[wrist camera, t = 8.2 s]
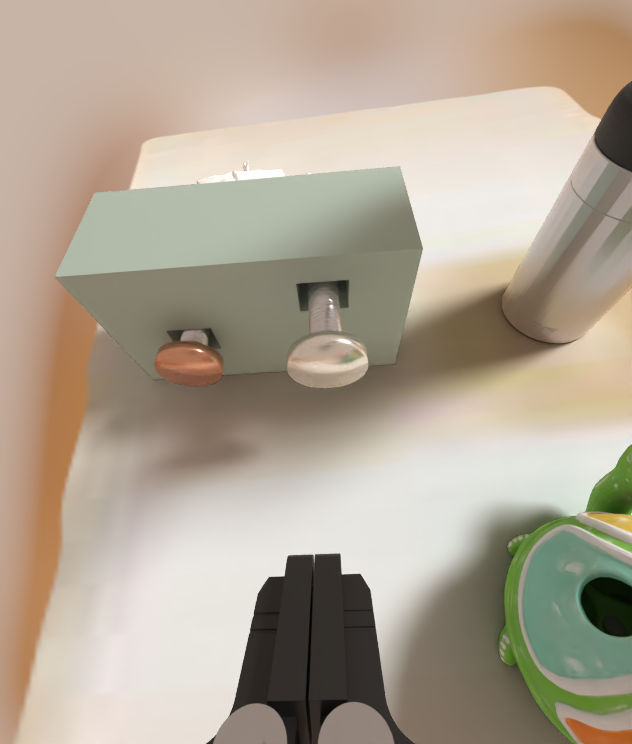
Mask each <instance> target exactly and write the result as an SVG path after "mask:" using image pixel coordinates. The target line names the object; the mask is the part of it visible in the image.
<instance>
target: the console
mask: <svg viewBox="0 0 632 744" xmlns="http://www.w3.org/2000/svg"><path fill="white" fill-rule="evenodd" d="M422 250H423V247H422V244H421V240H420V237H419V233H418V229H417V226H416V222H415V219H414V215H413V212H412V208H411V204H410V201H409V197H408V194H407V190H406V186H405V183H404V179H403V176H402V172H401V169H400V166H399V167H387V168H376V169H364V170H353V171H341V172H330V173H318V174H307V175H295V176H284V177H272V178H261V179H249V180H238V181H226V182H215V183H203V184H192V185H180V186H169V187H157V188H146V189H134V190H123V191H111V192H101V193H95V194H94V196H93V198H92V200H91V202H90V204H89V206H88V208H87V210H86V212H85V215H84V217H83V219H82V221H81V223H80V225H79V227H78V229H77V231H76V233H75V235H74V238H73V240H72V242H71V244H70V246H69V248H68V250H67V252H66V255H65V257H64V259H63V261H62V263H61V265H60V267H59V269H58V271H57V273H56V275H55V278H56V279H57V280H58V281H59V282H60V283H61V284H62V285H63V286H64V287H65V288H66V289H67V290H68V291H69V292H70V293H71V295H72V296H73V297H74V298H75V299H76V300H77V301H78V302H79V303H80V304H81V305H82V306H83V307H84V308H85V309H86V310H87V311H88V312H89V313H90V314H91V316H92V317H93V318H94V319H95V320H96V321H97V322H98V323H99V324H100V325H101V326H102V327H103V328H104V329H105V330H106V331H107V332H108V333H109V334H110V335H111V336H112V338H113V339H114V340H115V341H116V342H117V343H118V344H119V345H120V346H121V347H122V348H123V349H124V350H125V351H126V352H127V353H128V354H129V355H130V356H131V357H132V358H133V359H134V360H135V362H136V363H137V364H138V365H139V366H140V367H141V368H142V369H143V370H144V371H145V372H146V373H147V374H148V375H149V376H150V377H151V378H152V379H153V380H156V379H164V378H163V377H161V376H160V375H159V374H158V373H157V372H156V370H155V367H154V364H155V360H156V355H157V352H158V349H159V348H160V347H161V346H163V345H164V344H166V343H169V342H174V341H180V339H181V334H182V330H187V329H201V328H210V334H209V341H208V346H209V347H211V348H213V349H215V350H216V351H217V352H219V353H220V354H221V356H222V357H223V359H224V366H223V375H234V374H249V373H265V372H280V371H287V353H288V349H289V347H290V346H291V344H292V343H293V342H294V341H296V340H297V339H299V338H300V337H302V336H304V335H307V334H309V305H308V283H312V282H325V281H337V283H338V294H339V305H340V316H341V327H342V332H346V333H350V334H352V335H354V336H356V337H358V338H359V339H361V340H362V341H363V342H364V344H365V346H366V349H367V357H368V366H373V365H388V364H395V362H396V358H397V354H398V350H399V345H400V341H401V337H402V333H403V329H404V325H405V321H406V316H407V312H408V308H409V304H410V300H411V296H412V291H413V287H414V283H415V279H416V275H417V271H418V267H419V262H420V258H421V254H422Z"/></svg>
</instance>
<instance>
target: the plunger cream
mask: <svg viewBox="0 0 632 744" xmlns="http://www.w3.org/2000/svg"><path fill="white" fill-rule="evenodd" d="M308 305H309V334H307V335H304V336H302V337H300V338H299V339H297V340H296V341H294V342H293V343H292V344H291V346H290V347H289V349H288V353H287V371H288V374H289V376H290V377H291V378H292V379H293V380H295V381H296V382H298V383H300V384H302V385H305V386H309V387H314V388H335V387H340V386H344V385H348V384H350V383H353V382H355V381H357V380H358V379H360V378H361V377H362V376H364V375H365V373H366V372H367V370H368V357H367V349H366V346H365V344H364V342H363V341H362V340H361V339H359V338H358V337H356V336H354V335H352V334H350V333H346V332H342V327H341V316H340V305H339V294H338V283H337V281H325V282H312V283H308Z"/></svg>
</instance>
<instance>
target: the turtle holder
mask: <svg viewBox="0 0 632 744" xmlns="http://www.w3.org/2000/svg"><path fill="white" fill-rule="evenodd" d="M631 513H632V445H630V446H629V447H628V448H627V449H626V451H625V452H624V453H623V455H622V456H621V457H620V459H619V461H618V463H617V465H616V467H615V468H614V469H613V470H612V471H611V472H609V473H608V474H607V475H605V476H604V477H603V478H602V479H601V480H599V482H598V483H597V484H596V485H595V487H594V488H593V490H592V492H591V495H590V498H589V501H588V505H587V509H586V511H585V512H583V513H579V514H578V515H577V516H570V517H563V518H559V519H556V520H553V521H550V522H548V523H546V524H544V525H542V526H540V527H539V528H537V529H536V530H535V531H534V532H533V533H529V534H521V535H518V536H516V537H514V538H513V539H511V540H510V541H509V543H508V546H507V549H508V552H509V553H510V554H511V555H513V556H514V558H513V560H512V562H511V564H510V567H509V570H508V573H507V577H506V582H505V590H504V609H505V620H506V625H505V626H504V628H503V630H502V632H501V633H500V637H499V643H498V650H499V655H500V657H501V660H502V661H503V662H504V663H505V664H506V665H509V666H513V665H515V664H516V663H517V664H518V666H519V669H520V671H521V674H522V676H523V678H524V680H525V682H526V684H527V686H528V688H529V690H530V692H531V694H532V696H533V698H534V699H535V701H536V703H537V704H538V706H539V707H540V709H541V710H542V711H543V713H544V714H545V715H546V717H547V718H548V719H549V720H550V721H551V723H552V724H553V725H554V726H555V727H556V728H557V729H558V730H559V731H560V732H561V733H562V734H563V735H564V736H565V737H566V738H567V739H568V740H570V741H571V742H572V743H573V744H632V515H631Z"/></svg>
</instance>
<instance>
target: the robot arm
mask: <svg viewBox="0 0 632 744" xmlns="http://www.w3.org/2000/svg"><path fill="white" fill-rule="evenodd" d="M631 288H632V81H631V82H630V83H628V84H627V85H626V86H625V87H624V88H623V89H622V90H621V91H620V92H619V93H618V94H617V96H616V97H615V98H614V100H613V101H612V103H611V104H610V106H609V107H608V109H607V111H606V113H605V114H604V116H603V118H602V120H601V122H600V123H599V125H598V127H597V129H596V131H595V133H594V134H593V136H592V138H591V140H590V141H589V143H588V145H587V147H586V149H585V150H584V152H583V154H582V156H581V157H580V159H579V161H578V163H577V164H576V166H575V168H574V170H573V172H572V174H571V176H570V177H569V179H568V181H567V183H566V184H565V186H564V188H563V190H562V192H561V193H560V195H559V197H558V199H557V200H556V202H555V204H554V206H553V207H552V209H551V211H550V213H549V215H548V216H547V218H546V220H545V222H544V223H543V225H542V227H541V229H540V231H539V232H538V234H537V236H536V238H535V239H534V241H533V243H532V245H531V246H530V248H529V250H528V252H527V254H526V255H525V257H524V259H523V261H522V262H521V264H520V266H519V267H518V269H517V271H516V273H515V275H514V276H513V278H512V280H511V282H510V283H509V285H508V287H507V289H506V291H505V292H504V295H503V297H502V303H501V304H502V310H503V312H504V315H505V317H506V318H507V320H508V321H509V322H510V323H511V324H512V325H513V326H514V327H515V328H516V329H517V330H519V331H520V332H522V333H523V334H525V335H527V336H529V337H531V338H533V339H536V340H540V341H543V342H549V343H567V342H571V341H574V340H577V339H579V338H581V337H582V336H583V335H585V334H586V333H587V332H588V331H589V330H590V329H591V328H592V327H593V326H594V325H595V324H596V323H597V322H598V321H599V320H600V319H601V318H602V317H603V316H604V315H605V314H606V313H607V312H608V311H609V310H610V309H611V308H612V307H613V306H614V305H615V304H616V303H617V302H618V301H619V300H620V299H621V298H622V297H623V296H624V295H625V294H626V293H627V292H628V291H629V290H630V289H631ZM207 744H414V743H413V742H412V741H410V740H409V739H408V738H407V737H406V736H405V735H404V734H403V733H402V732H401V731H400V729H399V728H398V727H397V725H396V724H395V722H394V721H393V719H392V717H391V715H390V712H389V709H388V707H387V703H386V698H385V691H384V684H383V677H382V670H381V663H380V656H379V648H378V641H377V634H376V628H375V620H374V613H373V606H372V599H371V591H370V589H369V587H368V585H367V584H366V582H365V581H364V579H363V577H362V576H361V574H344V575H342V573H341V557H340V554H315V563H314V555H288V558H287V563H286V571H285V577H269V578H268V579H267V581H266V582H265V584H264V585H263V587H262V588H261V590H260V591H259V593H258V596H257V601H256V606H255V610H254V617H253V619H252V624H251V628H250V634H249V638H248V642H247V647H246V651H245V656H244V660H243V665H242V670H241V674H240V679H239V683H238V688H237V692H236V697H235V701H234V705H233V708H232V710H231V713H230V715H229V717H228V718H227V719H226V720H225V722H224V723H223V724H222V726H221V727H220V729H219V731H218V733H217V734H216V735H215V737H214V738H212V739H211V740H210V741H209V742H208V743H207Z"/></svg>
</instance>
